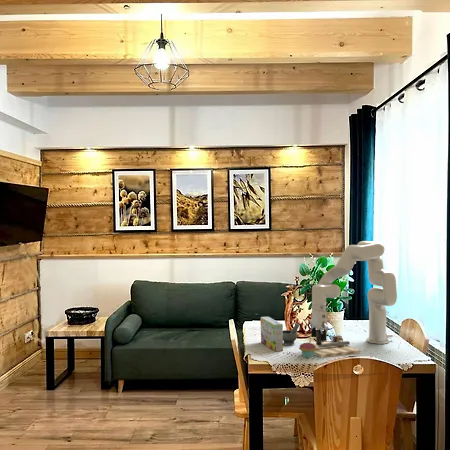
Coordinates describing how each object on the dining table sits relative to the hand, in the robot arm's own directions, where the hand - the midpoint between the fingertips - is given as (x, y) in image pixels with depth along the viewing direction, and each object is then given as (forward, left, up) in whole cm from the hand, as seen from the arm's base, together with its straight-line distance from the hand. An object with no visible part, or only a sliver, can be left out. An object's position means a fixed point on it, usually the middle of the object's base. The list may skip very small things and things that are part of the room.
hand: (318, 338), depth 288 cm
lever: (-9, 0, -5) cm, 10 cm away
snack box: (+19, -19, -7) cm, 28 cm away
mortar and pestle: (+7, -20, -7) cm, 22 cm away
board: (-7, 0, -7) cm, 10 cm away
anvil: (-18, -9, -5) cm, 21 cm away
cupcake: (+10, +6, -7) cm, 14 cm away
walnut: (-18, -6, -5) cm, 20 cm away
